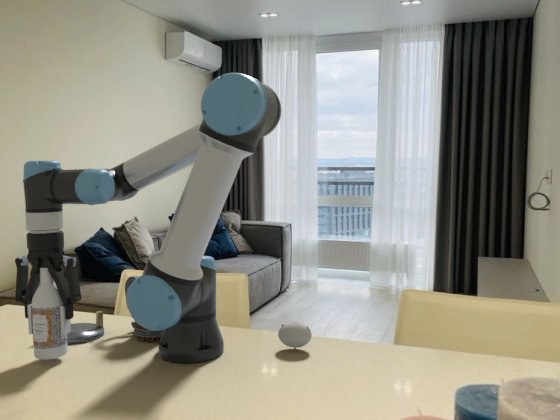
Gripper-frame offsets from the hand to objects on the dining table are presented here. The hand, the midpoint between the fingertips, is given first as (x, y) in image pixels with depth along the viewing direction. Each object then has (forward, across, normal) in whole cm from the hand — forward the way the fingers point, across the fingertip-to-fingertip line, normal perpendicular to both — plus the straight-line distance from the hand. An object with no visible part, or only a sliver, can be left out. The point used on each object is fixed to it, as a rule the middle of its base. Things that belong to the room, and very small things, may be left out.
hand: (50, 332), depth 118 cm
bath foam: (+5, 0, 0) cm, 5 cm away
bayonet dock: (+6, +4, -17) cm, 19 cm away
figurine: (+8, -53, -15) cm, 56 cm away
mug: (+7, -14, -21) cm, 26 cm away
